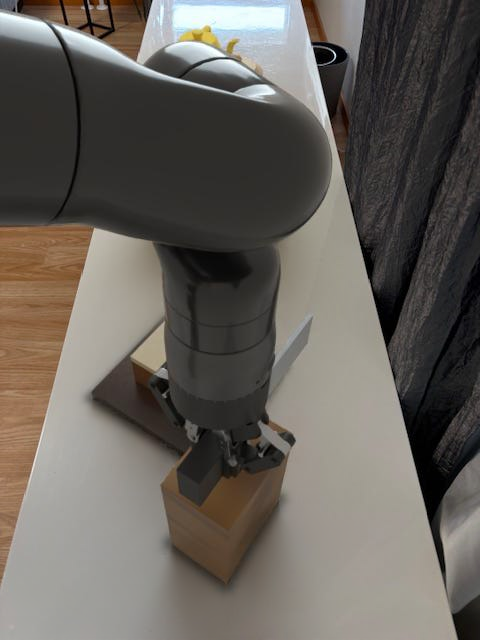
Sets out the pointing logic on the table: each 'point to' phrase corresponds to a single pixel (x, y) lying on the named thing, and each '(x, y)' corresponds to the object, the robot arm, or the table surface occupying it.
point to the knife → (205, 458)
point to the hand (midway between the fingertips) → (218, 461)
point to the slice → (149, 356)
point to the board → (139, 403)
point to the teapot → (206, 38)
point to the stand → (222, 515)
